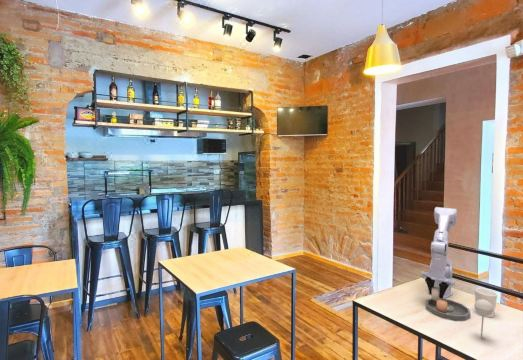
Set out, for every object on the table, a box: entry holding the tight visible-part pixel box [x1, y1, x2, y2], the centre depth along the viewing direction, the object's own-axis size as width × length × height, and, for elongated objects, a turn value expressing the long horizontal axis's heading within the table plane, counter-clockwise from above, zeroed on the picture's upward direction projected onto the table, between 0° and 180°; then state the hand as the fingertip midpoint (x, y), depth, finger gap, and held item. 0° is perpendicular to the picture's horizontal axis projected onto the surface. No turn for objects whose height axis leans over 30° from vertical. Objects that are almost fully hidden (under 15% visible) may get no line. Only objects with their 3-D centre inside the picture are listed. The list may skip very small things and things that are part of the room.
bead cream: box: [430, 287, 441, 301], centre depth 146 cm, size 4×4×5 cm
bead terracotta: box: [436, 300, 447, 314], centre depth 139 cm, size 4×4×5 cm
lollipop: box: [473, 299, 493, 339], centre depth 121 cm, size 6×6×15 cm
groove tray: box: [425, 298, 471, 322], centre depth 142 cm, size 17×17×2 cm
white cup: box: [474, 287, 498, 318], centre depth 140 cm, size 8×8×10 cm
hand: (436, 295), depth 146 cm, fingers closed on bead cream, 4 cm apart
